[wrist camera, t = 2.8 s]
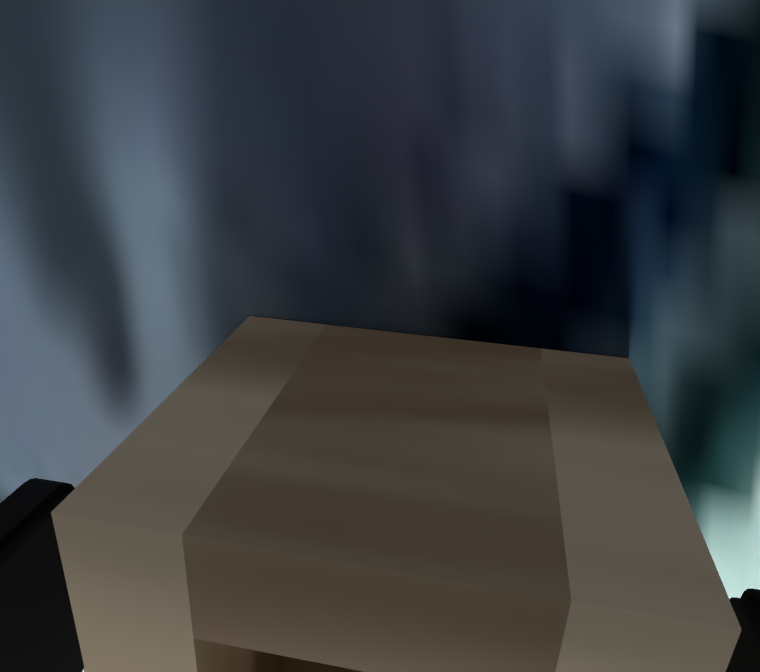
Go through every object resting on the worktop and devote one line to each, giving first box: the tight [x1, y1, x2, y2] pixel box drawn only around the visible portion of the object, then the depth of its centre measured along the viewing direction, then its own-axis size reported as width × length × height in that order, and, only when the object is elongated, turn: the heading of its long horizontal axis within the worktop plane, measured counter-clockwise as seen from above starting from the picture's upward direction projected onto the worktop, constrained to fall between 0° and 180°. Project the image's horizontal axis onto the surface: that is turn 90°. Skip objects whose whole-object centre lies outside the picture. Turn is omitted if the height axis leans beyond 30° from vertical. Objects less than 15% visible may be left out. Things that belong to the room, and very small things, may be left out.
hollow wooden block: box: [51, 316, 742, 672], centre depth 9 cm, size 6×6×5 cm
